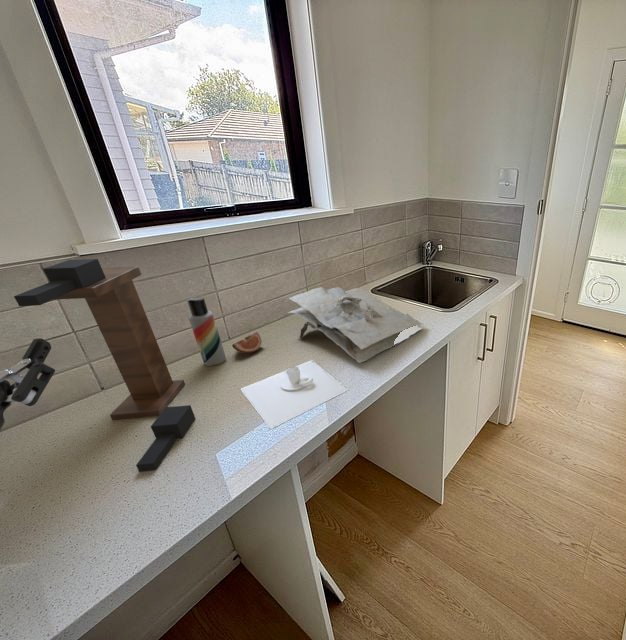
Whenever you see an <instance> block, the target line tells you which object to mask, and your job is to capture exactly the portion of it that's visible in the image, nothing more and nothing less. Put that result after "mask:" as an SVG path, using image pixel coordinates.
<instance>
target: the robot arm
mask: <svg viewBox="0 0 626 640" xmlns="http://www.w3.org/2000/svg"><path fill="white" fill-rule="evenodd" d="M51 350H52V344H51V343H50V342H49V341H48V340H46V339H43V338H42V337H41V338H40V337H39V338H33V340H32V341H31V343H30V345H29V346H28V347H27V349H26V351H25V353H24V354H23V356H22V358H21V359H22V360H20V361H19V362H18V363H16V364H15V365H13V366H11V367H10V368H4V369H2V370H0V431H1V430H2V429H3V427H4V424H5V423H6V421H5V417H4V414H5V411H6V410H7V409H8V408H9V407H10V406H11V405H17V404H18V405H19V404H22V405H24V406H27V407H32V406H34V405H36V404H37V402H38V401H39V399H40V398H41V396H42V394H43V392H44V391H45V389H46V388H47V385H48V384H49V383H50V381H51V379H52V377H53V376H54V374H55V373H56V369H55V368H54V367H51V366H49V365H47V364H45V361H46V360H47V357H48V355H49V354H50V351H51ZM26 369H27V371H24V370H26ZM23 371H24V372H23ZM22 372H23V373H22ZM20 373H22V374H20ZM39 375H40V376H39ZM9 380H12V381H14V383H12V384H11V382H10V381H9Z"/></svg>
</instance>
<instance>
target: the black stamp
mask: <svg viewBox="0 0 626 640" xmlns="http://www.w3.org/2000/svg"><path fill="white" fill-rule="evenodd" d="M102 268H103V267H102V266H101V263H100V261H99V259H98V258H84V259H83V258H82V259H80V258H79V259H67V260H64V261H61V262H59V263H55V264H53V265H49V266H47V267H44V268H42V271H43V272H44V274H45V276H46V279H47V280H48V282H47V283H44V284H41V285H39V286H36V287H34V288H32V289H29V290H26V291H24V292H21V293H18V294H16V295H14V296H13V298H14V299H15V301H16V303H17V306H19V307H34V306H42V305H45V304H46V303H49V302H51V301H54V300H53V299H55V298H58V297H60V296H62V295H64V294H66V293H69V292H71V291H73V290H75V289H77V288H85V287H87V286H90V285H92V284H94V283H96V282H98V281H100V280H103V279H105V278H106V277H105V275H104V272H103V270H102Z"/></svg>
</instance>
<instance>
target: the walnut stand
mask: <svg viewBox="0 0 626 640" xmlns="http://www.w3.org/2000/svg"><path fill="white" fill-rule="evenodd" d="M101 268H102V270H103V272H104V275H105V277H106V278H105V279H103V280H100V281H98V282H96V283H94V284H92V285H90V286H87V287H85V288H77V289H75V290H73V291H71V292H69V293H66V294H64V295H62V296H60V297H58V298H55V299H53V300H52V301H54V300H55V301H56V300H77V299H78V300H79V299H80V300H81V299H84V300H85V302H86V305H87V306H88V308H89V310H90V312H91V315H92V316H93V318H94V320H95V323H96V325H97V327H98V329H99V332H100V333H101V335H102V337H103V340H104V341H105V343H106V346H107V348H108V349H109V352H110V354H111V356H112V358H113V360H114V363H115V364H116V367H117V368H118V371H119V373H120V375H121V378H122V379H123V381H124V383H125V386H126V387H127V389H128V391H129V395H128V396H127V397H126V398H125V399H124V400H123V401H122V402H121V403H120V404H119V405H118V406H117V407H116V408H115V409H114V410H113V411H112V412H110V414H109V416H110V418H111V420H113V421H114V420H116V421H117V420H125V419H136V418H146V417H147V418H148V417H157V416H158V417H159V415H160V414H161V413H162V412H163V411H164V409H165V408H166V407H169V406H170V404H171V403H172V402H173V401H174V399H175V398H176V397H177V395H179V393H180V392H181V391H182V389H183V388H184V387H185V386H186V382H185V379H176V380H173V378H172V376H171V374H170V371H169V368H168V366H167V363H166V361H165V358H164V356H163V353H162V350H161V348H160V346H159V344H158V341H157V339H156V336H155V334H154V331H153V328H152V326H151V324H150V321H149V318H148V316H147V314H146V311H145V309H144V307H143V304H142V301H141V299H140V296H139V293H138V291H137V289H136V286H135V284H134V281H133V280H134V279H136V278H138V277H140V276H142V272H141V270H140V267H139V266H137V265H136V266H111V267H101Z"/></svg>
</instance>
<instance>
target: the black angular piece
mask: <svg viewBox="0 0 626 640" xmlns="http://www.w3.org/2000/svg"><path fill="white" fill-rule="evenodd" d="M195 421H196V416H195V413H194V410H193V408H192V405H191V404H186V405H176V406H167V407H166V408H165V409H164V411H163V412H162V413H161V414H160V415H159V416H158V417H156V419H155V420H154V422H153V423H152V424H151V425H150V429H151V431H152V433H153V436H154V438H155V439H154V440H153V442H152V443H151V445H150V446H149V447H148V448H147V450H146V451H145V452H144V454H143V455H142V456H141V458H140V459H139V460H138V462H137V463H136V465H135V467H136V469H137V470H138V472H139V473H140V472H148V471H156V470H158V468H159V467H160V465H161V463H162V462H163V461H164V459H165V458H166V456H168V453H169V452H170V451H171V449H172V448H173V446H174V445H175V443H176V442H177V440H178V439H184V437H185V435H186V434H187V433H188V431H189V429H190V428H191V427H192V425H193V423H194V422H195Z"/></svg>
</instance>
